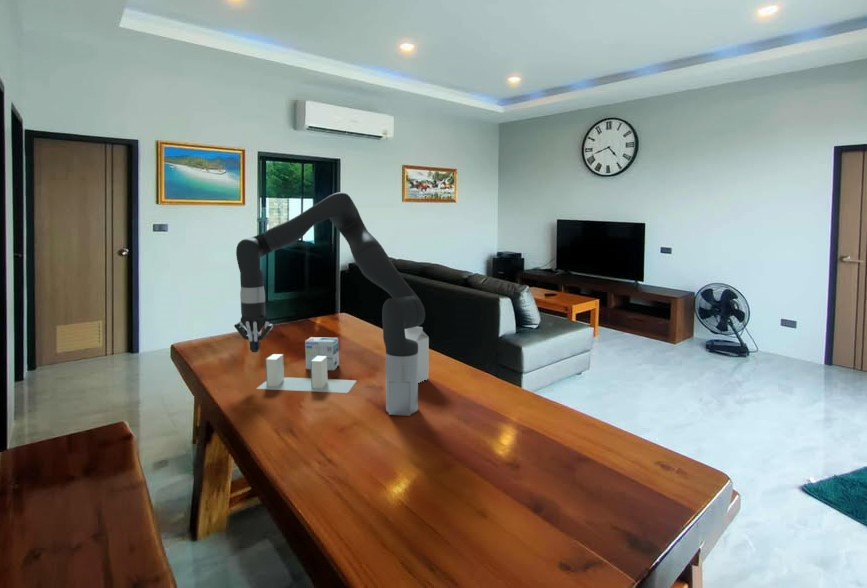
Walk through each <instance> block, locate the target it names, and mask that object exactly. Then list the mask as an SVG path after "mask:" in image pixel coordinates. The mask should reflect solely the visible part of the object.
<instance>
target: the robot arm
mask: <svg viewBox="0 0 867 588" xmlns="http://www.w3.org/2000/svg"><path fill="white" fill-rule="evenodd" d="M328 219H329V221H330V222H331V223H332V224H333V226H334V227H335V228H336V229H337V230H338V232H339V233H340V234H341V236H343V238H344V239H345V241H346V243H348V247H349V248H350V253H351V255H352V257H353V259H354V261H355V263H356V265H357V266H358V268H359V270H360V271H361V274H362V275H363V276H364V277H365V279H367V280H369V281H371V283H373V284H375V285H376V286H378V287H379V288H381V289H382V290H384V291H385V292H386V293H388V294H389V296H390V297H389V298H387V299H386V300H385V301H384V303H383V305H382V310H381V311H382V312H381V314H382V315H381V316H382V317H381V318H382V320H381V321H382V337H383V343H384V346H385V347H384V348H385V411H386V412H387V413H388V415H389V416H406V417H408V416H409V417H410V416H411V415H413V414H415V413H416V412H418V410H419V384H418V343H417V342H416V341H414V340H411V339H406V337H405V329H408V328H413V327H417V326H418V327H420V326H421V325H423V324H424V321H425V320H426V319H425V318H426V311H425V306H424V304H423V303H422V300H421V299H420V297H419V296H418V295H417V294H416V293H415V291H414V290H413V289H412V287H410V286H409V284H408V283H407V282H406V281H405V279H404V278H403V277H402V275H401V274H400V272H399V270H397V268H396V267H395V265H394V263H393V262H392V261H391V259H390V257H389V256H388V254H387V252H386V251H385V249H384V248H383V246H382V244H381V243H380V242H379V241H378V240H377V238H376V237H374V236H373V234H371V233H370V232H369V231H368V229H367V227H366V226H365V224H364V222H363V219H362V218H361V215H360V213H359V210H358V208H357V206H356V205H355V203H354V201H353V199H352V198H351V197H350V195H349V194H348V193H345V192H340V191H338V192H335V193H332V194H330V195H328V196H326V197H325V198H324V199H322V200H321V201H319V202H317V203H315V204H314V205H312V206H311V207H309V208H308V209H305V210H304V211H303V212H301V213H300V214H298V215H297V216H294V217H292V218H291V219H290V220H287V221H285V222H282V223H280V224H278V225H275V226H273V227H271V228H269V229H268V230H266V231H265V232H262V233H260V234H257V235H255V236H252V237H249V238H245V239H244V238H243V239H241V240H240V241H239V242H238V243H237V246H236V249H235V251H236V252H235V254H236V262H237V264H238V265H237V266H238V269H239V270H238V271H239V275H240V276H239V277H240V294H239V295H240V314H241V317H240V321H239V322H237V323H236V324H234V328H235V329H236V331H237V332H238V333H239V334H240V336H241V337H242V338H243V339H244V340H248V341H249V350H250V351H251V353H255V354H256V353H258V352H259V351H260V349H261V341H262V340H264V339H266V337H267V336H268V335H269V334H270V332H271V331H272V329H273V328H274V327H275V326H274V324H273V323H270V322H269V321H268V318H267V317H266V315H267V313H266V292H265V285H264V284H265V283H264V272H263V270H262V268H261V266H260V265H261V264H260V258H262V257H265V256H266V255H268V254H270V253H272V252H274V251H277V250H281V249H283V248H285V247H288V246H290V245H293V244H294V243H296V242H298V241H299V240H301V239H302V238H303V237H305V235H306V234H307V232H308V231H309V230H310V229H311V228H314V226H315V225H317V224H319V223H321V222H323V221H325V220H328ZM263 328H264V330H263ZM262 330H263V331H262Z"/></svg>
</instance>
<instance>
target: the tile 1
mask: <svg viewBox="0 0 867 588" xmlns="http://www.w3.org/2000/svg"><path fill="white" fill-rule="evenodd" d="M284 369H285V367H284V354H283V353H282V354H281V353H279V354H278V353H272V354H271V355H269V356H268V357H266V358H265V377H266V378H265V379H266V380H265V381H266V382H267V386H278V385H279V384H280V383H282V382H283V381H284V377H285V370H284Z"/></svg>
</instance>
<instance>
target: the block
mask: <svg viewBox="0 0 867 588" xmlns="http://www.w3.org/2000/svg"><path fill="white" fill-rule="evenodd" d="M310 378H311V388H323V387H324V386H325V385H326V383H327V382H328V379H329V377H328V370H327V356H316V357H315V358H314V359H312V360H311V369H310Z"/></svg>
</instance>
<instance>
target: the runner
mask: <svg viewBox="0 0 867 588" xmlns="http://www.w3.org/2000/svg"><path fill="white" fill-rule="evenodd" d="M357 381H358V380H355V379H354V380H353V379H351V380H350V379H337V378H336V379H334V378H333V379H332V378H328V382H327V383H326V385H325V386H324V387H323V388H311V377H310V378H308V377H286V376H284V381H283V382H282V383H280V384H279V385H278V386H267V382H266V380H265V381H264V382H262V383H261V384H260V385H258V387H256V390H271V391H273V390H274V391H275V390H277V391H293V392H294V391H295V392H314V393H315V392H317V393H318V392H319V393H336V394H337V393H341V394H342V393H343V394H349V392H350V391H351V390H352V388H353V386H355V384H356V383H357Z"/></svg>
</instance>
